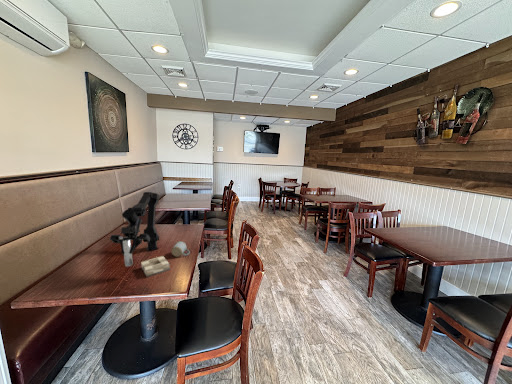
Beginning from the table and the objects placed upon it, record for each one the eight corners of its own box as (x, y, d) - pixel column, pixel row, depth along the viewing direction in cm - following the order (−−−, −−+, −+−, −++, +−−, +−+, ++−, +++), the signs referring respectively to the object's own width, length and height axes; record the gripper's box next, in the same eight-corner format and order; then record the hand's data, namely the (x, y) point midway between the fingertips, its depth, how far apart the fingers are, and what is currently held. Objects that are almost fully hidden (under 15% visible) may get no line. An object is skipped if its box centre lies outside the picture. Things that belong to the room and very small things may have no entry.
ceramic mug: (170, 257, 134) (170, 246, 133) (175, 251, 142) (175, 241, 141) (187, 257, 134) (187, 246, 133) (191, 252, 142) (190, 241, 141)
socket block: (141, 268, 121) (140, 261, 120) (163, 261, 128) (162, 255, 128) (146, 277, 112) (146, 270, 111) (169, 269, 119) (169, 263, 119)
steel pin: (124, 264, 112) (121, 240, 110) (132, 262, 115) (129, 238, 112) (125, 267, 110) (123, 242, 107) (133, 264, 112) (131, 240, 110)
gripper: (109, 220, 111) (99, 249, 102) (146, 219, 113) (140, 247, 104) (118, 229, 120) (110, 256, 111) (152, 228, 122) (147, 254, 113)
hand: (126, 253), depth 110 cm, fingers closed on steel pin, 4 cm apart
